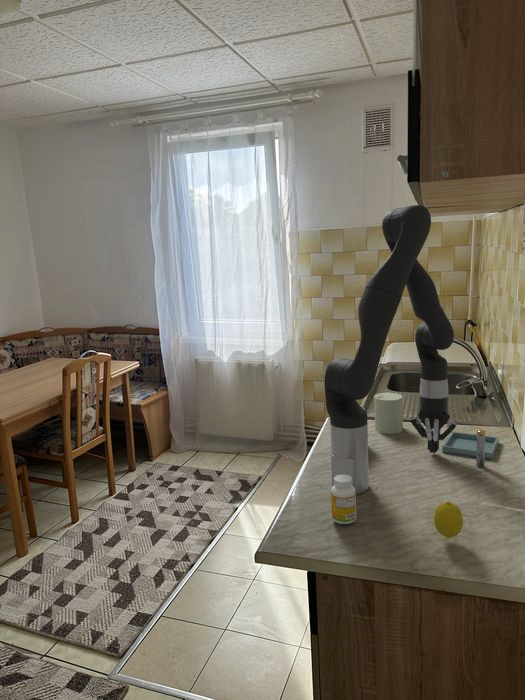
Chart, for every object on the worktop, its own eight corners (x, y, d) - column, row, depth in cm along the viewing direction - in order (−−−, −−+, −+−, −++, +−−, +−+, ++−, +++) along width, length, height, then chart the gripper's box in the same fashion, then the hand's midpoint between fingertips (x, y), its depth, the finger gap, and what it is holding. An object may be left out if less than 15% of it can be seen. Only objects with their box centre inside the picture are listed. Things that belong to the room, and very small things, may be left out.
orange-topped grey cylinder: (483, 468, 135) (484, 432, 134) (475, 467, 137) (476, 431, 135) (484, 465, 137) (485, 430, 135) (476, 464, 138) (477, 429, 136)
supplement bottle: (335, 511, 118) (333, 471, 116) (358, 514, 116) (357, 474, 114) (329, 522, 113) (328, 482, 111) (353, 526, 111) (352, 484, 109)
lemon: (447, 527, 108) (447, 493, 107) (468, 540, 103) (469, 503, 102) (428, 535, 106) (428, 500, 104) (449, 548, 101) (449, 511, 99)
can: (371, 426, 172) (370, 392, 170) (398, 424, 173) (397, 390, 171) (378, 435, 163) (378, 399, 161) (407, 433, 164) (406, 397, 162)
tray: (491, 460, 140) (491, 453, 140) (442, 452, 147) (442, 446, 147) (498, 443, 151) (498, 437, 151) (452, 437, 158) (452, 431, 158)
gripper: (406, 394, 143) (406, 453, 146) (455, 399, 136) (454, 460, 139) (413, 388, 149) (413, 444, 153) (461, 392, 142) (460, 451, 146)
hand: (433, 451), depth 146 cm, fingers closed
